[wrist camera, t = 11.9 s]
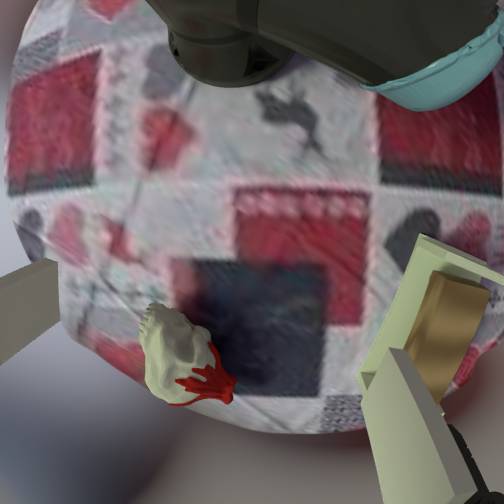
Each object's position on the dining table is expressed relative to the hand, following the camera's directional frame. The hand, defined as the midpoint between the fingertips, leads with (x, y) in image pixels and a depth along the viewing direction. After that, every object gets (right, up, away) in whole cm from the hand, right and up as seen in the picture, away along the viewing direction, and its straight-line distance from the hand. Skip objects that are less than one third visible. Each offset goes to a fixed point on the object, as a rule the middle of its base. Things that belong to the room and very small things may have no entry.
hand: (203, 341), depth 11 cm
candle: (-6, -10, +29) cm, 31 cm away
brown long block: (+24, -7, +22) cm, 33 cm away
